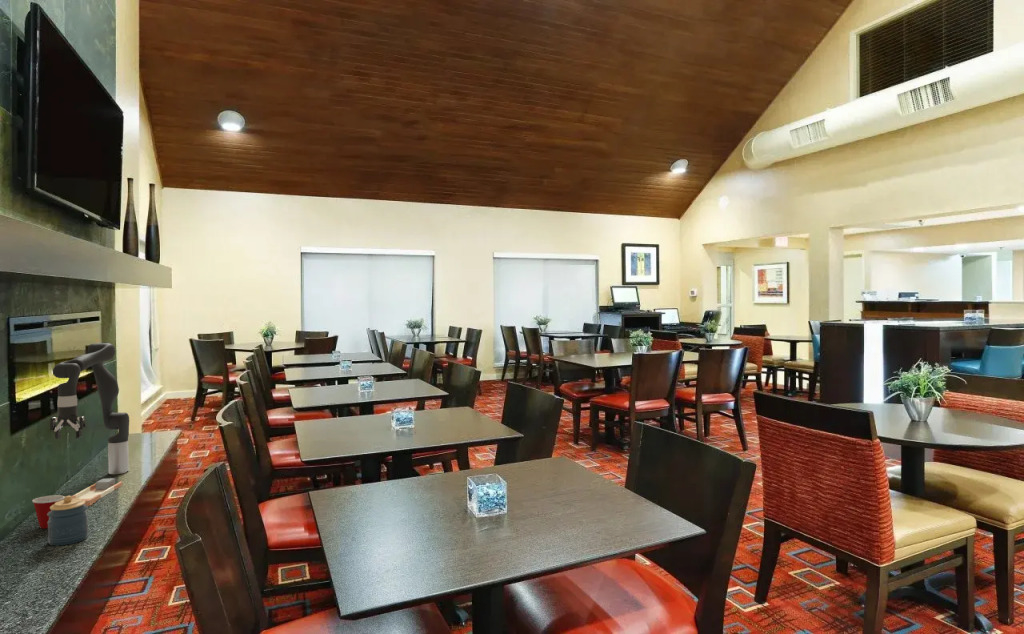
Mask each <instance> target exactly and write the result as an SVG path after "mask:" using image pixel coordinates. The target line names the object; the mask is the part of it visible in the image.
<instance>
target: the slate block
mask: <svg viewBox="0 0 1024 634" xmlns="http://www.w3.org/2000/svg"><path fill="white" fill-rule="evenodd" d="M95 483H96V490H107V489H108V488H110V487H112V486H114V485H115V484H116V478H115V477H114V478H113V477H110V478H101V479H100V480H98V481H97V480H96V482H95Z"/></svg>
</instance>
